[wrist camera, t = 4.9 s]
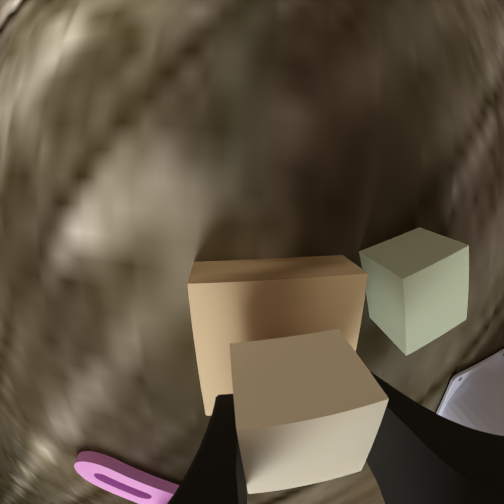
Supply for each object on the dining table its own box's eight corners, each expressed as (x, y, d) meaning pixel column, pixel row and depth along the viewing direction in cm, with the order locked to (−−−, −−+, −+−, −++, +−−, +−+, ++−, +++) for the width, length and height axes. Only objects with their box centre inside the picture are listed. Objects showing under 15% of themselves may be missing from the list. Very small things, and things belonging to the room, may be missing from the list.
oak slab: (339, 253, 14) (367, 273, 11) (326, 366, 16) (344, 399, 13) (194, 259, 13) (187, 283, 10) (207, 377, 15) (206, 415, 12)
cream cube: (338, 328, 10) (388, 398, 6) (329, 402, 11) (361, 470, 7) (229, 343, 10) (236, 430, 6) (239, 417, 11) (248, 493, 7)
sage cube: (418, 227, 14) (468, 245, 10) (423, 290, 15) (466, 319, 11) (358, 251, 13) (402, 279, 10) (369, 316, 15) (405, 355, 11)
